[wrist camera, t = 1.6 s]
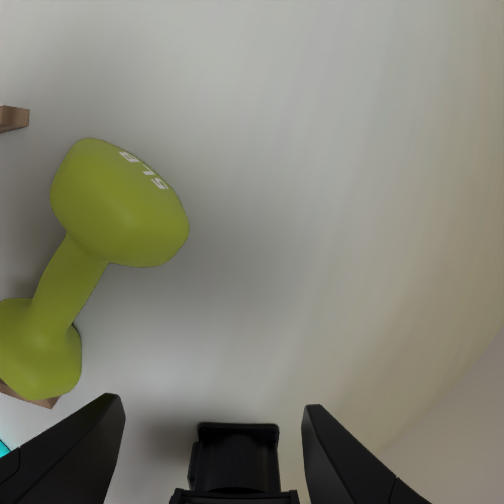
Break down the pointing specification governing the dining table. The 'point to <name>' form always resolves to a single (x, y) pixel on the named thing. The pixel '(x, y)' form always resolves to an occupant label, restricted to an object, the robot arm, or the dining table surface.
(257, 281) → the dining table surface
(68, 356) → the dumbbell
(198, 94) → the dining table surface
